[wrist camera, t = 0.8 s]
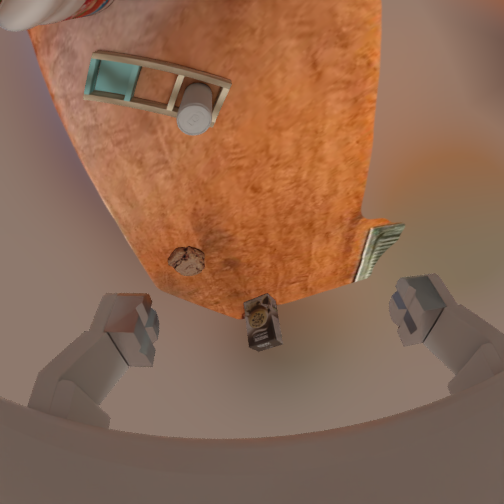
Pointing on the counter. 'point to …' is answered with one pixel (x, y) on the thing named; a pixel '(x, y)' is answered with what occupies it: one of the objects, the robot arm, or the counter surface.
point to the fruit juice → (45, 12)
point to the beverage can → (195, 109)
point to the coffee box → (262, 323)
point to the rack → (126, 76)
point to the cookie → (187, 261)
